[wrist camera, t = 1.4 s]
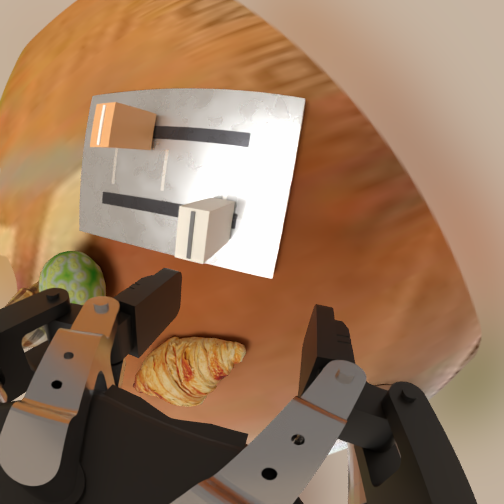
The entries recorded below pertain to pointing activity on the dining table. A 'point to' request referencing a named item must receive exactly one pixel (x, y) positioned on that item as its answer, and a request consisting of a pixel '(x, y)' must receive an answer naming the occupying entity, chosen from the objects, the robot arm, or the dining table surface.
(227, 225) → the cream fader
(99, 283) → the decorative ball
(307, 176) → the dining table surface
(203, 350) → the croissant
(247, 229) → the fader panel
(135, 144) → the orange fader
